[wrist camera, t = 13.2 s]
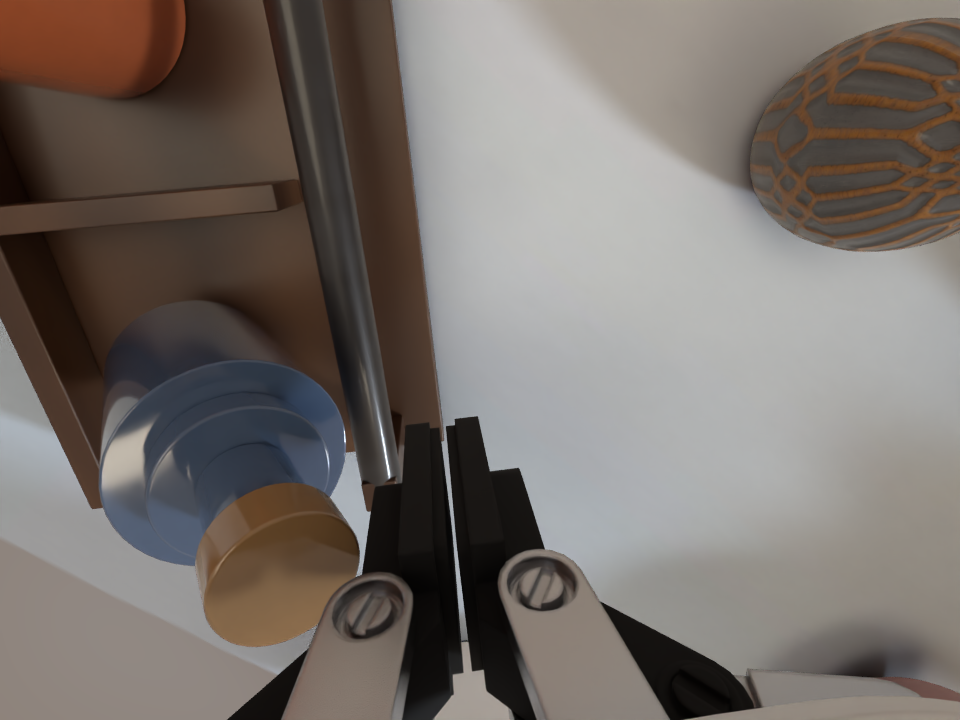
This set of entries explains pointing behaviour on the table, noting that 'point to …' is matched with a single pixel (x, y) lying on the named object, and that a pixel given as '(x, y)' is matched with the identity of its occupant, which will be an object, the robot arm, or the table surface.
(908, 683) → the mortar and pestle
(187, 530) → the slate bottle
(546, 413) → the table surface
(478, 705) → the milk
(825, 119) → the vase
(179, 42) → the terracotta bottle
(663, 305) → the table surface
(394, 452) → the rack
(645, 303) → the table surface
